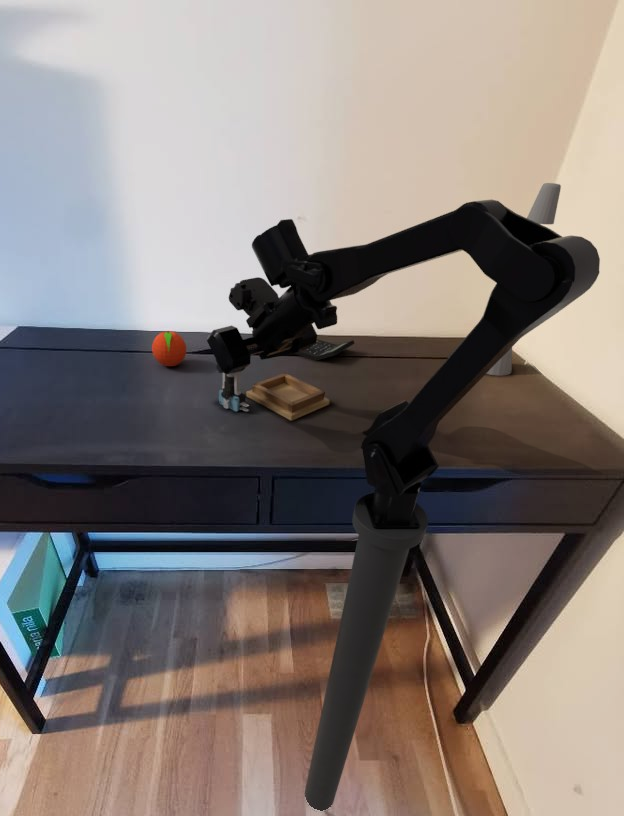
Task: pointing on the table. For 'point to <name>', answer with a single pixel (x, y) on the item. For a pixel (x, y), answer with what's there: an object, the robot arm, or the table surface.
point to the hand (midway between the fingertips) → (240, 363)
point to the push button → (232, 392)
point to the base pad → (288, 396)
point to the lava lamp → (540, 214)
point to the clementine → (169, 348)
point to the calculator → (324, 349)
